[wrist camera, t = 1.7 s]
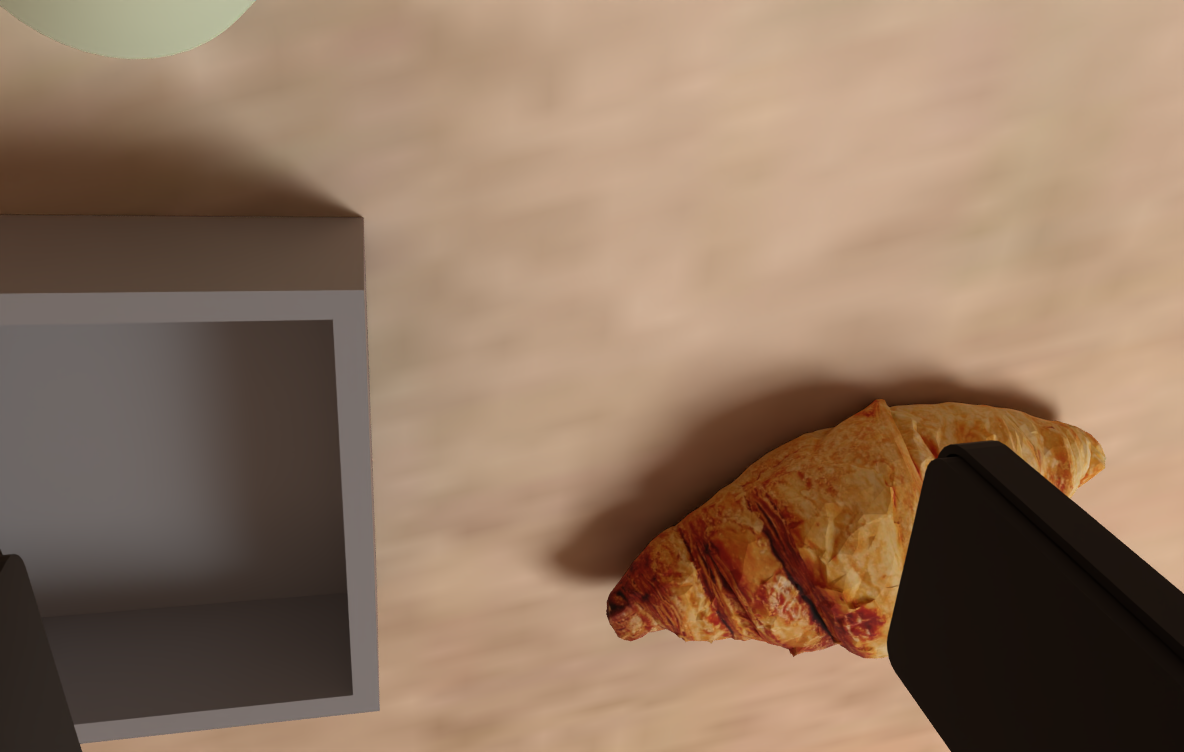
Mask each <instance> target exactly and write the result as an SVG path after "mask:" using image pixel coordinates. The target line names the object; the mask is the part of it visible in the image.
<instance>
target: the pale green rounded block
mask: <svg viewBox="0 0 1184 752" xmlns="http://www.w3.org/2000/svg"><path fill="white" fill-rule="evenodd" d="M255 1H256V0H0V6H1V7H3V8H4V9H5V10H6V11H8V12H9V13H10V14H12V15H13V16H14V17H16V18H17V19H18V20H20V21H21V22H23V23H24V24H26V25H28V26H29V27H31V28H33V29H34V30H36V31H37V32H39V33H41V34H43V35H45V36H47V37H49V38H51V39H53V40H55V41H57V42H60V43H62V44H64V45H67V46H70V47H73V48H76V49H78V50H81V51H84V52H88V53H92V54H97V55H101V56H106V57H113V58H123V59H152V58H159V57H165V56H172V55H175V54H178V53H182V52H185V51H188V50H191V49H194V48H196V47H198V46H200V45H202V44H204V43H207V42H209V41H210V40H212V39H213V38H215V37H216V36H218V35H219V34H221V33H222V32H224V31H225V30H226V29H228V28H229V27H230V26H231V25H232V24H233V23H234V22H235V21H236V20H238V19H239V18H240V17H241V16H242V15H243V14H244V12H245V11H246V10H247V9H248V8H249V7H250V6H251V5H252V4H253V3H254V2H255Z"/></svg>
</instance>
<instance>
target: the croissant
mask: <svg viewBox="0 0 1184 752" xmlns="http://www.w3.org/2000/svg"><path fill="white" fill-rule="evenodd" d="M989 440H994V441H1000V442H1001V443H1003V444H1005V445H1006V446H1008V447H1009V448H1010V449H1011V450H1012V451H1014V452H1015V453H1016V454H1017V455H1018V456H1020V457H1021V458H1022V459H1023V460H1024V461H1026V462H1027V463H1028V464H1029V465H1030V466H1032V467H1033V468H1034V469H1035V470H1036V471H1038V472H1039V473H1040V474H1041V475H1042V476H1044V477H1045V478H1046V479H1047V480H1048V481H1050V482H1051V483H1052V484H1053V485H1054V486H1056V487H1057V488H1058V489H1059V490H1060V491H1061V492H1063V493H1064V494H1065V495H1066V496H1067V497H1069V498H1071V497H1072V495H1073V494H1074V493H1075V491H1076V489H1077V488H1078V487H1080V486H1082V485H1083V484H1084V483H1086V482H1087V481H1089V480H1090V479H1091V478H1092V477H1094V476H1095V475H1096V474H1098V473H1099V472H1100V471H1102V470H1103V469H1104V468H1105V460H1106V457H1105V454H1104V452H1103V449H1102V447H1101V445H1100V444H1099V443H1098V441H1097V440H1096V439H1095V438H1094V437H1093V436H1092V435H1091V434H1089V433H1087V432H1085V431H1083V430H1081V429H1080V428H1078V427H1076V426H1072V425H1069V424H1065V423H1062V422H1059V421H1049V420H1045V419H1041V418H1037V417H1034V416H1031V415H1028V414H1027V413H1025V412H1021V411H1017V410H1014V409H1008V408H997V407H991V406H988V405H972V404H965V403H956V402H945V403H940V404H915V405H901V406H893V407H888V406H887V404H886V401H885V400H884V399H876V400H875V401H873V402H872V403H871V404H870V405H868V406H867V407H866V408H865V409H864V410H862V411H860V412H858V413H856V414H855V415H853V416H851V417H849V418H848V419H846V420H844V421H843V422H841V423H840V424H839V425H837V426H836V427H832V428H827V429H821V430H817V431H814V432H812V433H805V434H803V435H801V436H800V437H798V438H796V439H794V440H792V441H790V442H788V443H786V444H783V445H782V446H780V447H778V448H776V449H774V450H772V451H770V452H769V453H767V454H766V455H764V456H763V457H762V458H760V459H759V460H758V461H756V462H755V463H753V464H752V465H750V466H749V467H748V468H747V469H746V470H745V471H744V472H743V473H742V474H741V475H740V476H739V477H738V478H737V479H736V480H735V481H733V482H732V483H731V484H729V485H727V486H726V487H724V488H723V489H721V490H719V491H718V492H717V493H716V494H715V495H714V496H713V497H712V498H711V499H710V500H708V501H707V502H706V503H704V504H703V505H702V506H700V507H699V508H697V509H696V510H694V511H693V512H691V513H690V514H688V515H687V516H686V517H685V518H684V519H683V520H682V521H681V522H679V523H678V524H677V525H676V526H672V527H670V528H668V529H666V530H665V531H663V532H661V533H660V534H659V535H658V536H657V537H655V538H654V539H653V540H652V541H651V542H650V543H649V544H648V545H647V547H646V548H645V549H644V550H643V551H642V553H641V554H640V555H639V556H638V557H637V558H636V559H635V561H634V562H633V563H632V564H631V566H630V567H629V569H628V570H627V572H626V573H625V575H624V576H623V577H622V578H621V580H620V581H619V582H618V584H617V585H616V586H615V588H614V589H613V590H612V591H611V593H610V594H609V597H608V600H607V610H606V612H607V617H608V620H609V623H610V625H611V626H612V628H613V629H614V630H615V632H616V634H617V636H618V637H619V638H621V639H624V640H628V641H633V640H636V639H638V638H641V637H643V636H644V635H646V634H647V633H648V632H655V631H659V630H663V629H668V630H670V631H671V632H673V633H675V634H676V635H677V636H678V637H679V638H682V639H683V640H685V641H686V642H687V641H708V642H710V643H712V642H713V640H721V639H726V638H733V639H734V640H743V641H746V640H750V639H755V640H759V641H765V642H767V643H769V644H773V645H777V646H781V647H784V648H786V649H789V651H790V653H791V654H792V655H793V657H794V656H795V655H797V654H800V653H803V652H812V651H816V650H821V649H825V648H828V647H830V646H833V645H836V644H840V645H841V646H842V647H844V648H846V649H847V650H848V651H849V652H851V653H854V654H856V655H858V656H860V657H863V658H884V657H887V656H888V652H887V636H888V631H889V627H890V623H891V618H892V614H893V610H894V605H895V601H896V597H897V592H898V588H899V584H900V579H901V575H902V571H903V566H904V562H905V558H906V553H907V549H908V545H909V540H910V536H911V532H912V527H913V523H914V519H915V514H916V510H917V506H918V501H919V497H920V493H921V489H922V484H923V480H924V476H925V471H926V469H927V466H928V464H929V463H930V462H931V460H934V459H936V458H938V455H939V453H940V452H941V450H942V449H943V448H944V447H946V446H948V445H950V444H959V443H969V442H979V441H989Z"/></svg>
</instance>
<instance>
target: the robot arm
mask: <svg viewBox="0 0 1184 752" xmlns="http://www.w3.org/2000/svg"><path fill="white" fill-rule="evenodd" d="M887 652H888V656H889V660H890V662H891V665H892V667H893V669H894V671H895V672H896V674H897V675H898V677H899V678H900V680H901V681H902V682H903V684H904V685H905V687H906V688H907V690H908V691H909V692H910V694H911V695H912V697H913V698H914V699H915V701H916V702H917V704H918V705H919V707H920V708H921V709H922V711H923V712H924V714H925V715H926V717H927V718H928V719H929V721H930V722H931V724H932V725H933V727H934V728H935V729H936V731H937V732H938V734H939V735H940V737H941V738H942V739H943V741H944V742H945V744H946V745H947V746H948V748H949V749H950V751H951V752H1184V594H1183V593H1182V592H1181V591H1180V590H1179V589H1177V588H1176V587H1175V586H1174V585H1173V584H1171V583H1170V582H1169V581H1168V580H1167V579H1165V578H1164V577H1163V576H1162V575H1161V574H1160V573H1158V572H1157V571H1156V570H1155V569H1154V568H1152V567H1151V566H1150V565H1149V564H1148V563H1146V562H1145V561H1144V560H1143V559H1142V558H1140V557H1139V556H1138V555H1137V554H1136V553H1134V552H1133V551H1132V550H1131V549H1130V548H1128V547H1127V546H1126V545H1125V544H1124V543H1122V542H1121V541H1120V540H1119V539H1118V538H1116V537H1115V536H1114V535H1113V534H1112V533H1111V532H1109V531H1108V530H1107V529H1106V528H1105V527H1103V526H1102V525H1101V524H1100V523H1099V522H1097V521H1096V520H1095V519H1094V518H1093V517H1091V516H1090V515H1089V514H1088V513H1087V512H1085V511H1084V510H1083V509H1082V508H1081V507H1079V506H1078V505H1077V504H1076V503H1075V502H1073V501H1072V500H1071V499H1070V498H1069V497H1067V496H1066V495H1065V494H1064V493H1063V492H1061V491H1060V490H1059V489H1058V488H1057V487H1056V486H1054V485H1053V484H1052V483H1051V482H1050V481H1048V480H1047V479H1046V478H1045V477H1044V476H1042V475H1041V474H1040V473H1039V472H1038V471H1036V470H1035V469H1034V468H1033V467H1032V466H1030V465H1029V464H1028V463H1027V462H1026V461H1024V460H1023V459H1022V458H1021V457H1020V456H1018V455H1017V454H1016V453H1015V452H1014V451H1012V450H1011V449H1010V448H1009V447H1008V446H1006V445H1005V444H1003V443H1001V442H1000V441H994V440H989V441H979V442H969V443H959V444H950V445H948V446H946V447H944V448H943V449H942V450H941V452H940V453H939V455H938V458H936V459H934V460H931V462H930V463H929V464H928V466H927V469H926V471H925V476H924V480H923V484H922V489H921V493H920V497H919V501H918V506H917V510H916V514H915V519H914V523H913V527H912V532H911V536H910V540H909V545H908V549H907V553H906V558H905V562H904V566H903V571H902V575H901V579H900V584H899V588H898V592H897V597H896V601H895V605H894V610H893V614H892V618H891V623H890V627H889V631H888V636H887ZM0 752H82V750H81V747H80V743H79V740H78V737H77V733H76V730H75V727H74V724H73V720H72V717H71V714H70V711H69V707H68V704H67V701H66V697H65V694H64V691H63V688H62V684H61V681H60V678H59V674H58V671H57V668H56V665H55V661H54V658H53V655H52V652H51V648H50V645H49V642H48V638H47V635H46V632H45V629H44V625H43V622H42V619H41V615H40V612H39V609H38V606H37V602H36V599H35V596H34V593H33V589H32V586H31V583H30V579H29V576H28V573H27V570H26V567H25V564H24V562H23V560H22V558H21V557H20V556H19V555H17V554H8V555H3V554H2V552H1V549H0Z"/></svg>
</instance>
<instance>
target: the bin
mask: <svg viewBox="0 0 1184 752" xmlns="http://www.w3.org/2000/svg"><path fill="white" fill-rule="evenodd" d="M0 549H1V552H2V554H3V555H8V554H17V555H19V556H20V557H21V558H22V560H23V562H24V564H25V567H26V570H27V573H28V576H29V579H30V583H31V586H32V589H33V593H34V596H35V599H36V602H37V606H38V609H39V612H40V615H41V619H42V622H43V625H44V629H45V632H46V635H47V638H48V642H49V645H50V648H51V652H52V655H53V658H54V661H55V665H56V668H57V671H58V674H59V678H60V681H61V684H62V688H63V691H64V694H65V697H66V701H67V704H68V707H69V711H70V714H71V717H72V720H73V724H74V727H75V730H76V733H77V737H78V740H79V743H80V744H83V743H92V742H101V741H110V740H119V739H128V738H137V737H146V736H155V735H164V734H173V733H182V732H191V731H200V730H210V729H219V728H228V727H237V726H246V725H255V724H264V723H273V722H282V721H291V720H300V719H309V718H318V717H327V716H337V715H346V714H355V713H364V712H373V711H380V705H379V662H378V618H377V580H376V552H375V525H374V497H373V469H372V441H371V413H370V385H369V358H368V330H367V302H366V274H365V246H364V218H363V217H232V216H96V215H0Z"/></svg>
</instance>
